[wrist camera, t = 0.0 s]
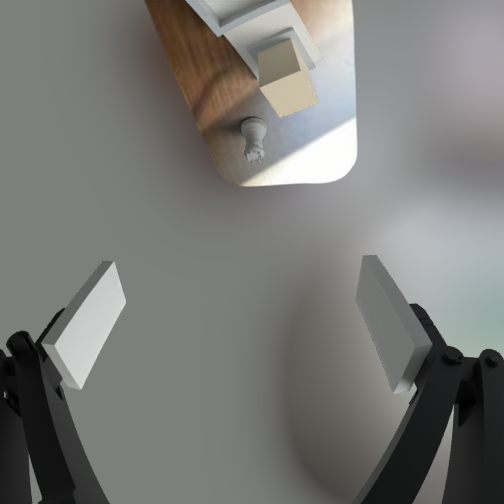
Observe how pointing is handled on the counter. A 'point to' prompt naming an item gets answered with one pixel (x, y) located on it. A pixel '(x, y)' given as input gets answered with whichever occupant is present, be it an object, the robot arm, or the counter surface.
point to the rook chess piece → (253, 138)
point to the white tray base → (268, 46)
